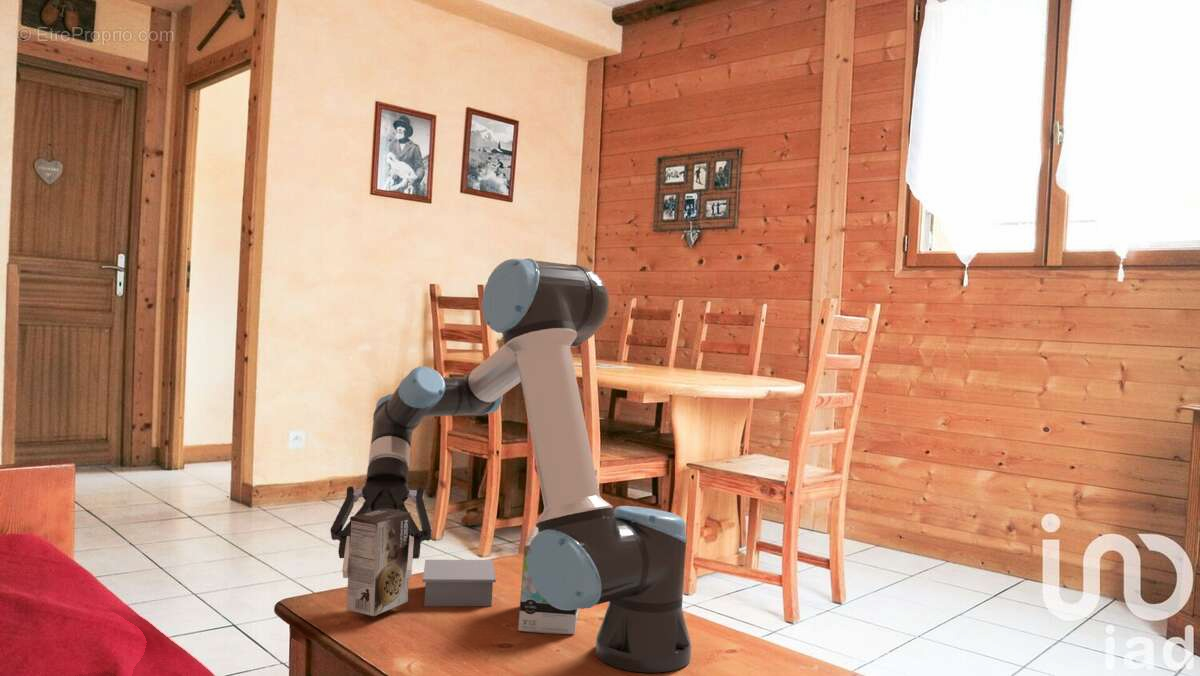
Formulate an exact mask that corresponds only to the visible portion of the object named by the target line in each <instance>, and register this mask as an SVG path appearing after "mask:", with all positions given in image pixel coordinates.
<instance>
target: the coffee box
mask: <svg viewBox="0 0 1200 676" xmlns="http://www.w3.org/2000/svg"><path fill="white" fill-rule="evenodd" d="M411 513H412V512H409V511H408V512H402V511H399V510H395V509H389V508H382V509H378V510H374V511H371V512H367V513H363V514H359V515H356V516H355V515H352V516H349V522H350V539H349V566H348V578H347V593H346V594H347V595H346V610H347V611H350V612H355V613H358V614H363V615H367V616H370V617H376V616H378V615H381V614H382V613H385V612H387V611H391V609H394V608H396V607H397V608H398V606H401V605H403V604H405V603H408V601H409V578H407V563H408V550H409V537H411V536H410V515H411Z"/></svg>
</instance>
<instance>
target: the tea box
mask: <svg viewBox="0 0 1200 676" xmlns="http://www.w3.org/2000/svg"><path fill="white" fill-rule="evenodd" d="M538 533H539V531H538V526H532V527H531V529H530V531H529V534H528V536H527V538H526V541H525V543H524V545H523V546H524V547H523V556H522V557H523V559H522V574H521V587H520V589H521V590H520V597H519V598H520V600H519V601H520V602H519V614H518V615H519V616H518V627H517V629H518V631H519V632H527V633H528V632H529V633H538V634H540V633H543V634H553V635H555V634H557V635H575V633H576V628H577V623H578V622H577V621H578V616H579V615H578V614H579V609H574V610H560V609H557V608H555V607H553V606H551V605H550V604H549V603H548V602H547V601H546V599H543V598H542V597H541V596H540V594H539V593H538V592H537V590H536V588H535V587H534V585H533V583H532V580H531V577H530V574H529V570H528V564H527V554H528V552H529V551H530V548H529V545H530V543H531V541H532V539H533V538H534V537H535V536H536V535H537V534H538Z"/></svg>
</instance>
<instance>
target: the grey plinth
mask: <svg viewBox="0 0 1200 676" xmlns="http://www.w3.org/2000/svg"><path fill="white" fill-rule="evenodd" d="M495 572H496V571H495V566H494V560H493V559H425V560H424V568H423V576H422V583H425V587H424V588H425V589H424V607H492V606H493V605H492V604H493V603H492V602H493V585H494V584H493V583H496V581H497V579H496V573H495Z"/></svg>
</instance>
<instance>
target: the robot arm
mask: <svg viewBox="0 0 1200 676" xmlns="http://www.w3.org/2000/svg"><path fill="white" fill-rule="evenodd" d="M482 293H483V294H482V300H481V305H482V306H481V308H482V309H481V310H482V311H481V312H482V316H483V319H484V322H485V323H486V325H487V326H489V328H490V329H491V330H492V331H494V332H496V333H498V334H502V338H503V339H502V340H503V343H504V344H503V345H502V346H500V347H499V348H498V349H497V350H495V352H493V353H492V354H491V355H490V356H488V357H487V358H486V359H485V360H484V361H482V362H481V363H479V365H477V366H476V367H475V368H474V369H472V371H470V372H469V373H467V374H466V375H464V376H460V377H459V376H456V377H453V376H452V377H449V376H448V377H445V376H444V377H443V376H442V375H441V374H440V372H439V371H438V370H436V369H431V368H430V367H428V366H424V365H423V366H422V365H421V366H417V367H415V368H413V369H411V371H410V372H409V373H408V374H407V375H406V376H405V377H404V378H403V379H402V380H401V381H400V383H399V385H398V386H397V388H395V389H396V390H395V391H394V392H393V393H388V394H386V395H384V396H381V398H379V400H377V402H376V405H375V409H374V412H373V415H372V416H373V420H372V421H373V423H372V430H371V432H372V433H371V440H370V445H369V447H370V448H369V454H368V466H367V470H366V478H365V479H366V481H365V484H364V486H363V487H362V488H357V489H356V488H355V489H354V486H348V487H347V488H346V497H345V499H344V501H343V503H342V505H341V507H340V509H339V512H338V513H337V515H336V517H335V519H334V521H333V523H332V525H331V527H330V529H329V531H330V537H331V540H332V541H339V545H338V550H337V551H338V556H339V559H343V563H342V569H341V571H342V578H343V579H348V566H349V539H350V521H349V522H348V523H347V521H348V518H350V514H351V512H352V511H353V509H354V505H355V503H357V502H358V501H359V499H360V498H361V497H362V498H363V499H364V501H363V504H362V506H361V507H360V508H359V509H358V511H357V512H356V513H355V514H354V516H356V515H359V514H363V513H367V512H371V511H374V510H378V509H382V508H389V509H395V510H399V511H402V512H409V511H408V509H407V507H406V505H405V501H407V500H408V499H409V498H410V499H411V502H413V504H415V507H416V511H417V515H418V519H419V523H420V526H421V529H419V527H418V526H417V524H416V522H415V521H414V519H413V517H412V516H411V514H410V537H409V550H408V563H407V578H408V579H412V575H413V562H414V561H413V560H414V559H416V560H417V559H420V556H421V543H423V542H424V541H426V542H427V541H430V540H431V539H432V527H431V524H430V521H429V515H428V513H427V509H426V505H425V502H424V498H425V497H424V496H425V495H424V494H425V493H424V491H425V489H424V488H423V487H418V488H417V489H410V488H409V487H408V484H409V483H408V482H409V481H408V480H409V471H410V470H409V467H410V458H411V445H412V437H413V436H412V435H413V432H414V431H415V430H416V429H417V427H418V426H419V425H420V424H421V423H422V421H424V419H426V418H428V417H448V416H450V417H451V416H453V417H454V416H455V417H456V416H484V415H488V414H489V415H490V414H493V413H495V412H497V411H498V410H499V409H500V405H501V404H502V403H503V398H504V395H505V394H507V392H509V391H510V390H511V389H513V388H514V387H516V386H517V385H518V384H521V387H522V388H521V389H522V394H523V399H524V405H525V410H526V415H527V420H528V426H529V431H530V432H529V433H530V437H531V443H532V448H533V453H534V459H535V465H536V469H537V470H536V471H537V475H538V480H539V486H540V491H541V496H542V501H543V512H542V513H541V515H540V516H539V518H538V519H537V520H536V524H537V526H536V527H538V531H539V533H538V534H537V535H536V536H535V537H534V538H533V539H532V541H531V543H530V545H529V548H530V551H529V552H528V554H527V564H528V570H529V574H530V577H531V580H532V583H533V585H534V587H535V588H536V590H537V592H538V593H539V594H540V596H541V597H542V598H543V599H546V601H547V602H548V603H549V604H550V605H551V606H553V607H555V608H557V609H560V610H574V609H578V610H579V609H580V610H584V609H591V608H592V607H594V606H598V605H601V604H604V603H608V605H607V608H606V611H605V613H604V617H603V619H602V621H601V624H600V626H599V627H600V628H599V630H598V633H597V635H596V639H595V654H596V657H597V658H599V660H601V662H604V663H605V664H606V665H607V664H608V665H610V666H611V667H614V668H617V669H620V670H625V671H629V672H637V673H645V674H646V673H650V674H651V673H666V672H672V671H677V670H679V669H682V668H683V667H685V666H687V665H688V664H689V663H690V662H691V656H692V655H691V654H692V643H691V638H690V634H689V630H688V627H687V623H686V619H685V614H684V611H683V599H684V598H683V596H684V595H683V594H684V583H685V582H684V580H685V564H686V546H687V543H688V540H687V539H686V538H687V533H686V532H687V527H686V526H687V525H686V522H685V520H684V519H683V518H682V517H681V516H679V515H678V514H675V513H673V512H671V511H665V510H661V509H657V508H656V509H655V508H650V507H649V508H648V507H642V506H633V505H632V506H631V505H618V506H616V507H615V508H613V505H612V504H610V502H608V501H607V500H606V499H605V500H604V499H603V498H602V497H601V494H600V490H599V483H598V480H597V479H598V478H597V475H596V468H595V465H594V460H593V455H592V450H591V446H590V445H591V444H590V440H589V435H588V430H587V426H586V421H585V420H586V419H585V415H584V411H583V404H582V400H581V396H580V395H581V394H580V389H579V385H578V380H577V375H576V369H575V365H574V360H573V356H572V352H571V351H572V350H571V348H576V347H579V346H581V345H582V344H583V343H585V342H587V340H589V339H590V338H591V337H594V335H595V334H596V333H597V332H598V331H599V330H600V329H601V328H602V326H603V324H604V323H605V322H606V319H607V317H608V313H609V310H610V295H609V292H608V289H607V287H606V285H605V283H604V281H603V279H601V277H600V276H599V275H598V274H596V272H594V271H593V270H592V269H589V268H588V267H585V266H582V265H579V264H567V263H559V262H550V261H542V260H535V259H533V258H524V259H521V258H510V259H509V258H508V259H506V260H504V261H503V262H501V263H499V264H497V266H496V267H495V268H494V269H493V271H492V272H491V274H490V275H489V277H488V279H487V281H486V284H485V286H484V289H483V292H482ZM346 523H347V524H346ZM345 524H346V525H345Z"/></svg>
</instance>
